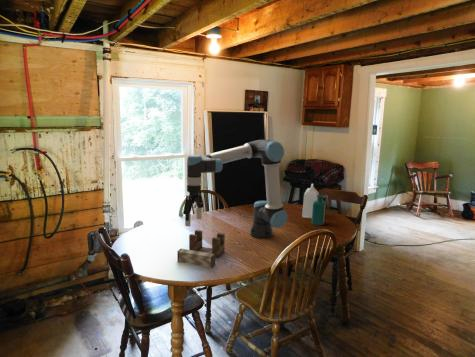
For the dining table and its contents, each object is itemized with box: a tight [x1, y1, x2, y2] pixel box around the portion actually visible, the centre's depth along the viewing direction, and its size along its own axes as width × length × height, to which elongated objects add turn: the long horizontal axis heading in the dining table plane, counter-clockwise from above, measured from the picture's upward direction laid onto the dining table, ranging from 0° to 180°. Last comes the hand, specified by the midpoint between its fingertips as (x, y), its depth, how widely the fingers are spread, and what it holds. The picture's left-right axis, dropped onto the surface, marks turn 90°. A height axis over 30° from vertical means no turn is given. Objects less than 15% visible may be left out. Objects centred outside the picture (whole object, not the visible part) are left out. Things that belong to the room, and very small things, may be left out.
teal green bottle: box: [311, 194, 329, 226], centre depth 247 cm, size 10×8×22 cm
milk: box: [301, 183, 320, 219], centre depth 266 cm, size 12×12×26 cm
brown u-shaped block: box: [188, 229, 226, 259], centre depth 192 cm, size 18×10×11 cm, turn 73°
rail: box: [176, 248, 216, 269], centre depth 178 cm, size 20×4×6 cm, turn 73°
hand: (193, 222), depth 182 cm, fingers open, 13 cm apart
